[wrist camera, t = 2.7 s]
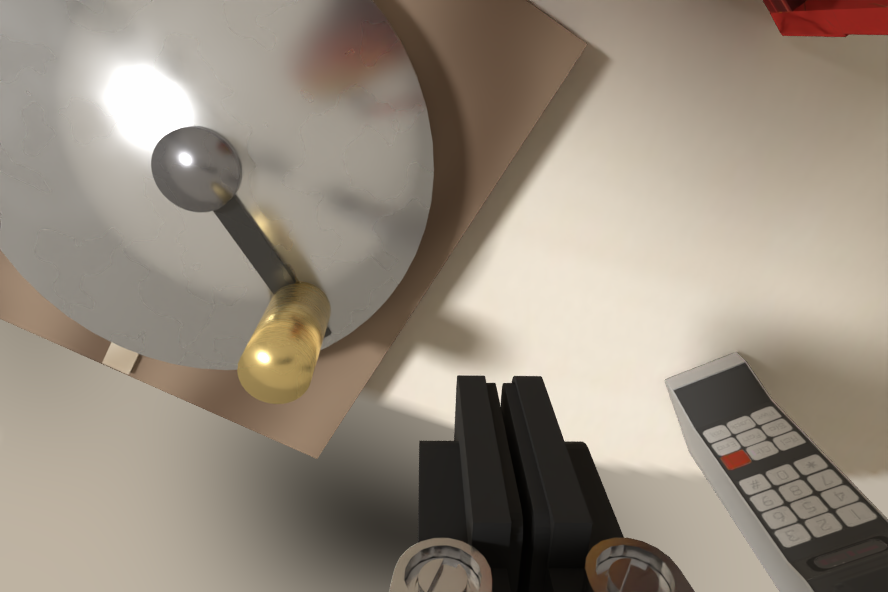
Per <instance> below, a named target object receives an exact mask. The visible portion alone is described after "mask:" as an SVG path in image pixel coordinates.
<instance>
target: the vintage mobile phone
mask: <svg viewBox="0 0 888 592" xmlns="http://www.w3.org/2000/svg"><path fill="white" fill-rule="evenodd" d="M665 384H666V387H667V389H668V392H669V395H670V398H671V401H672V404H673V407H674V410H675V413H676V416H677V418H678V421H679V424H680V427H681V430H682V433H683V436H684V439H685V442H686V444H687V447H688V450H689V453H690V454H691V456H692V457H693V459H694V460H695V462H696V464H697V465H698V467H699V468H700V470H701V471H702V473H703V474H704V476H705V477H706V479H707V480H708V482H709V483H710V485H711V487H712V488H713V490H714V491H715V493H716V494H717V496H718V497H719V499H720V500H721V502H722V504H723V505H724V507H725V508H726V510H727V511H728V513H729V514H730V516H731V518H732V519H733V521H734V522H735V524H736V525H737V527H738V528H739V530H740V531H741V533H742V534H743V536H744V538H745V539H746V541H747V542H748V544H749V545H750V547H751V548H752V550H753V552H754V553H755V555H756V556H757V558H758V559H759V561H760V562H761V564H762V565H763V567H764V568H765V570H766V572H767V573H768V575H769V576H770V578H771V579H772V581H773V582H774V584H775V586H776V587H777V589H778V590H779V592H888V519H887V518H886V517H885V516H884V515H883V514H882V513H881V512H880V511H879V510H878V509H877V507H876V506H875V505H874V504H873V503H872V502H871V501H870V500H869V499H868V498H867V497H866V496H865V495H864V494H863V493H862V492H861V491H860V490H859V489H858V488H857V487H856V486H855V485H854V484H853V483H852V482H851V480H850V479H849V478H848V477H847V476H846V475H845V474H844V473H843V472H842V471H841V470H840V469H839V468H838V467H837V466H836V465H835V464H834V463H833V462H832V461H831V460H830V459H829V458H828V457H827V456H826V455H825V454H824V452H823V451H822V450H821V449H820V448H819V447H818V446H817V445H816V444H815V443H814V442H813V441H812V440H811V439H810V438H809V437H808V436H807V435H806V434H805V433H804V432H803V431H802V430H801V429H800V428H799V427H798V426H797V424H796V423H795V422H794V421H793V420H792V419H791V418H790V417H789V416H788V415H787V414H786V413H785V412H784V411H783V410H782V409H781V408H780V407H779V406H778V405H777V404H776V403H775V402H774V401H773V399H772V398H771V397H770V395H769V394H768V392H767V391H766V389H765V388H764V386H763V385H762V383H761V382H760V380H759V379H758V378H757V376H756V375H755V373H754V372H753V370H752V369H751V367H750V366H749V364H748V363H747V362H746V361H745V360H744V359H743V358H742V357H741V356H740V355H739V354H738V353H737V352H735V353H732V354H730V355H727V356H724V357H722V358H719V359H717V360H714V361H712V362H709V363H706V364H704V365H701V366H699V367H696V368H693V369H691V370H688V371H686V372H683V373H681V374H678V375H675V376H673V377H670V378H668V379H665Z"/></svg>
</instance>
